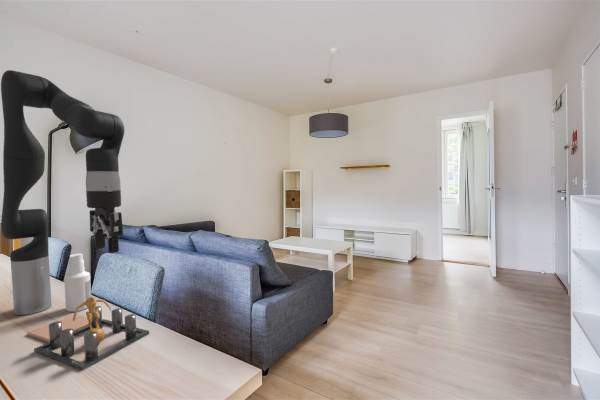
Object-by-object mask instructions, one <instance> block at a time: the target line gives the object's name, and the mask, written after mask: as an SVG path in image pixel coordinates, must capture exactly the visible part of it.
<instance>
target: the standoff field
mask: <svg viewBox="0 0 600 400" xmlns="http://www.w3.org/2000/svg"><path fill="white" fill-rule="evenodd" d="M96 309H98V313H99V316H100V318H99V321H98V325H99V327H100V328H101V329H103V325H105V326H110V327H111V329H112V331H111V332H112V334H119V333H121V332H123V331H124V333H125V341H124V342H122V343H120V344H118V345H116V346H115V347H112V348H110V349H109V350H106V351H105V352H103V353H101V354H99V344H98V342H97V332H89V331H90V326H86V327H84V328H82V329H79V330H77V331H75V332H73V329H65V330H63V331H62V322H61V321H58V320H56V321H57V322H55V321H54V322H53V323H52V322H50V323H51V324H50V323H48V324H49V339H50V342H47V343H44V344H42V345H40V346H37V347H34V348H33V352H34V353H35V354H38V355H41V356H44V357H46V358H48V359H51V360H54V361H56V362H58V363H62V364H64V365H67V366H70V367H73V368H74V369H77V370H81V371H84V370H86V369H87V368H89V367H91V366H93V365H95V364H97V363H99V362H101V361H102V360H104V359H105V358H108V357H110V356H111V355H113V354H115V353H116V352H118V351H121V350H122V349H124V348H126V347H127V346H131V344H134V343H135V342H137V341H139V340H141V339H142V338H144V337H146V336H149V334H150V330H146V329H145V328H144V329H143V328H139V327H137V319H136V318H137V317H136V316H137V315H136V314H135V313H131V314H127V315H125V316H124V321H123V308H119V307H118V308H114V309H111V320H108V319H106V318H105V319H104V318H103V314H102V311H103V310H102V306H101V305H98V306H97V305H96V307H95V310H96ZM96 319H97V318H96V317H95V316H94V313H93V314H92V318H91V325H92V328H93V329H94V328H96ZM87 331H88V332H89V333H88V332H87ZM85 332H87V333H85ZM83 333H85V334H83ZM80 334H83V342H84V344H83V345H84V347H83V348H84V361H85V362H82V361H79V360H77V359H73V358H71V357H73V356H74V355H75V354H76V353H75V339H74V337H76V336H78V335H80ZM48 348H49V349H50V350H49V349H48ZM56 349H60V353H57V352H54V351H52V350H56Z"/></svg>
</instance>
